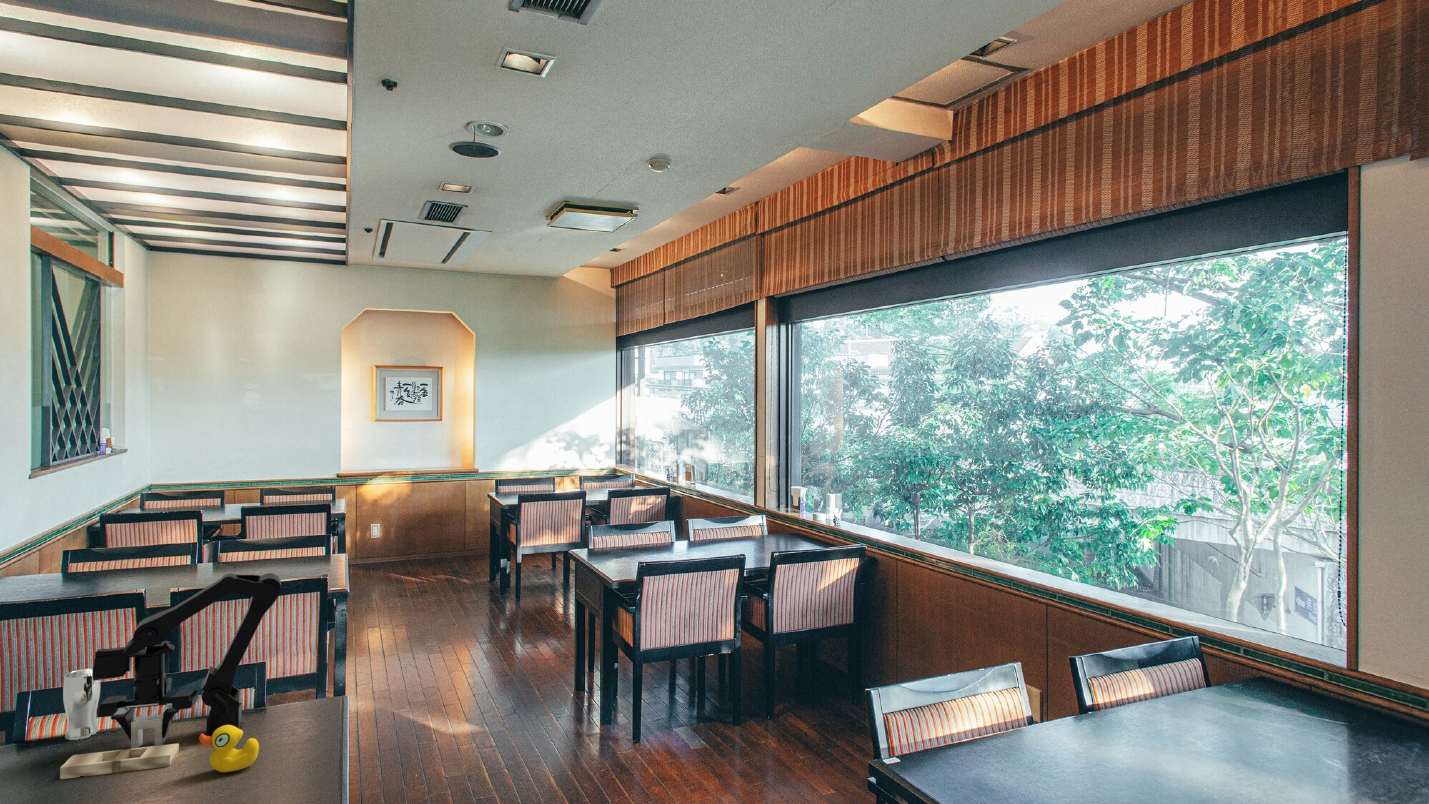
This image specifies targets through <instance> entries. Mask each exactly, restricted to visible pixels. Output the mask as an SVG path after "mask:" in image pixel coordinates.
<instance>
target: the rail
mask: <svg viewBox="0 0 1429 804" xmlns="http://www.w3.org/2000/svg"><path fill="white" fill-rule="evenodd" d="M179 743H180V742H179ZM179 743H170V744H163V745H159V746H154V745H151V746H143V747H141V746H140V747H139V748H132V749H131V748H127V749H125V748H124V749H116V750H107V751H99V752H89V753H88V752H87V753H80V754H73V755H72V756H71V757H70V758H68V759H67V760H66V762H64V764H62V765H61V766H60V768H59V780H66V779H72V778H73V779H74V778H81V777H80V776H84V777H91V776H99V775H100V776H101V775H107V774H116V773H123V771H124V773H126V772H134V771H139V770H140V771H141V770H148V769H158V768H167V767H171V766H172V764H173V763H174V761H175V760H176V758H177V757H178V756H179V754H180V744H179ZM125 771H126V772H125Z"/></svg>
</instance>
